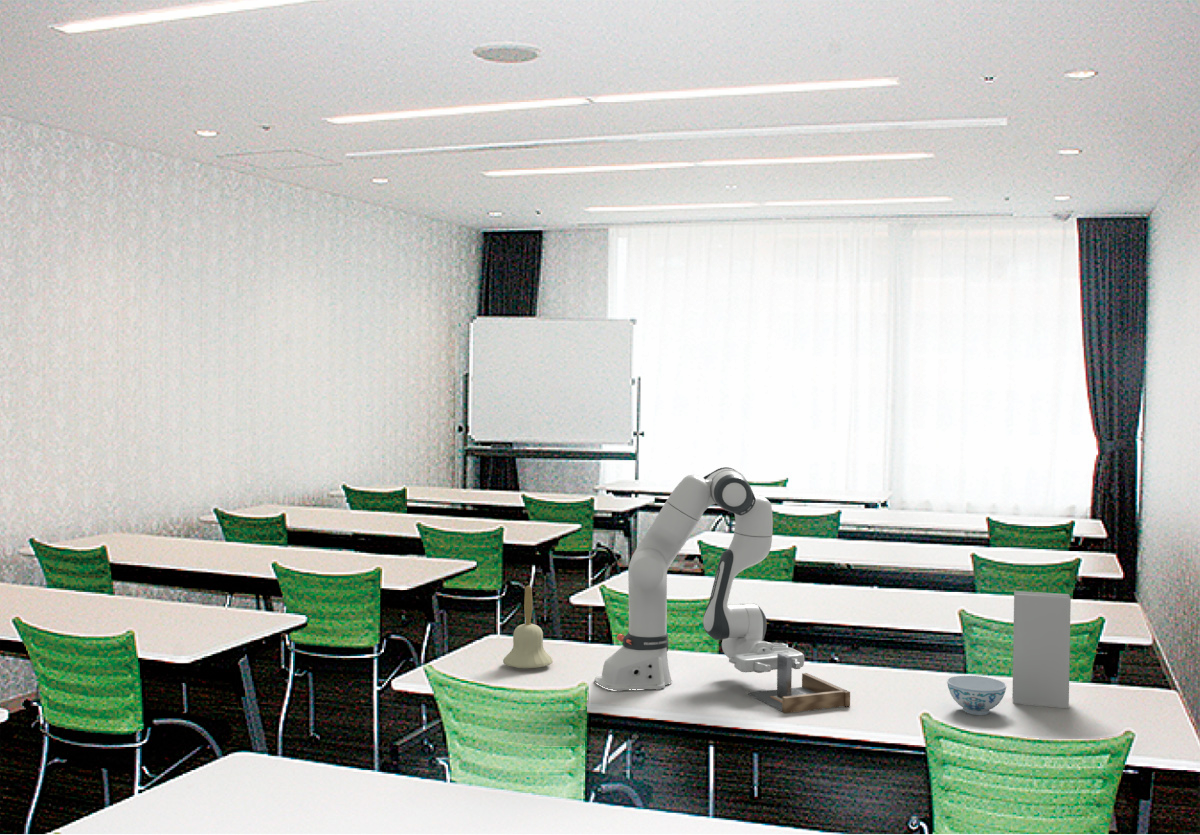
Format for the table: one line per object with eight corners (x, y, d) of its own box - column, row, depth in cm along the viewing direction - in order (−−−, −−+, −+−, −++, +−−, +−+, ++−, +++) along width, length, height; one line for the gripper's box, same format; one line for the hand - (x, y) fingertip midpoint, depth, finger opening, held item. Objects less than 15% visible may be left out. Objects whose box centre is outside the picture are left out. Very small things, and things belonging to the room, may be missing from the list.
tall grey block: (1067, 703, 306) (1069, 594, 305) (1069, 708, 301) (1070, 597, 300) (1012, 698, 310) (1014, 590, 310) (1012, 703, 305) (1014, 594, 305)
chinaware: (963, 700, 308) (963, 672, 308) (1015, 711, 297) (1016, 683, 297) (936, 710, 297) (936, 682, 297) (989, 723, 287) (989, 693, 287)
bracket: (786, 701, 304) (787, 657, 303) (776, 696, 308) (777, 653, 308) (808, 698, 306) (809, 655, 306) (798, 694, 311) (799, 651, 311)
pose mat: (781, 711, 296) (781, 709, 296) (747, 694, 312) (747, 692, 312) (839, 704, 302) (839, 703, 302) (803, 688, 319) (803, 686, 319)
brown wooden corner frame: (786, 714, 293) (786, 699, 293) (746, 693, 313) (746, 679, 313) (850, 706, 301) (850, 691, 301) (806, 686, 321) (806, 673, 321)
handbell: (492, 666, 342) (493, 584, 342) (531, 658, 352) (531, 579, 352) (524, 675, 331) (524, 591, 330) (563, 667, 341) (563, 586, 341)
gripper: (726, 648, 315) (750, 659, 303) (788, 642, 323) (814, 653, 310) (725, 670, 316) (750, 682, 303) (788, 664, 323) (814, 675, 310)
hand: (783, 667), depth 306 cm, fingers open, 8 cm apart
